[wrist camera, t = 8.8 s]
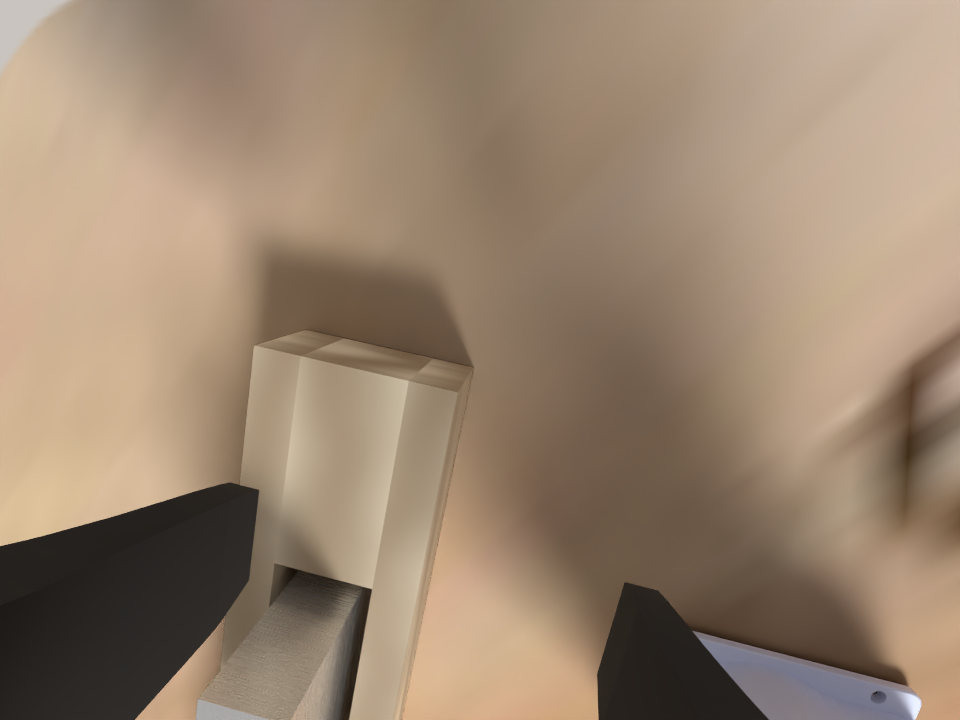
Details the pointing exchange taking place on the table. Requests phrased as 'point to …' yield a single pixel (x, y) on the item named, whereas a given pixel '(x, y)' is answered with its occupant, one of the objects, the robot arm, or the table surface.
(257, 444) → the post beam
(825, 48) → the table surface
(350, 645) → the rectangular metal block
